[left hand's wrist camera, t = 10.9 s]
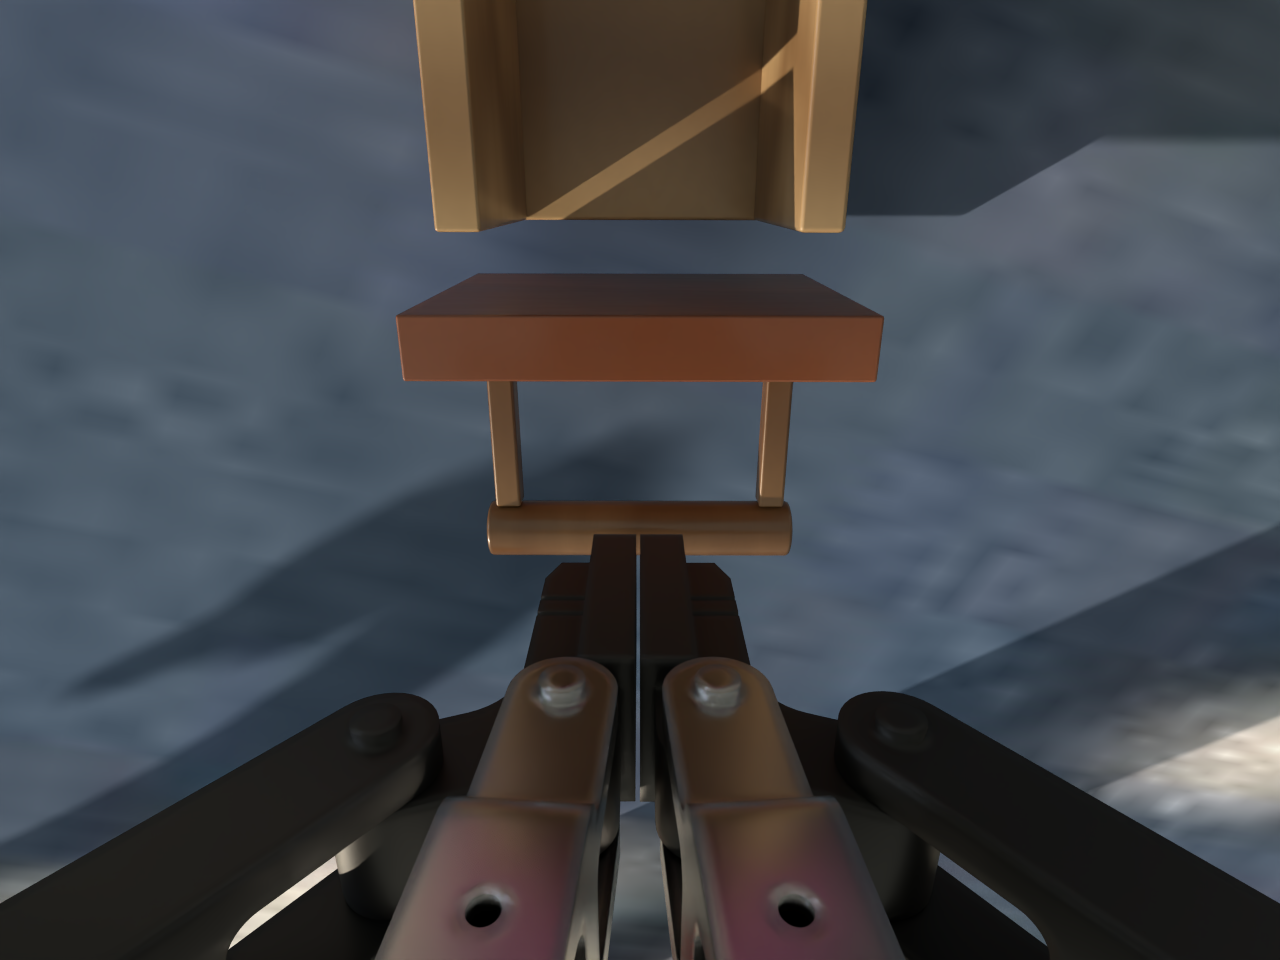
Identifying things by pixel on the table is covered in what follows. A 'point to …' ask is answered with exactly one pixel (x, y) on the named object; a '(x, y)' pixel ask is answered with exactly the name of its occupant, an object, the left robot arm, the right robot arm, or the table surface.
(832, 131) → the wooden drawer
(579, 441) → the table surface
